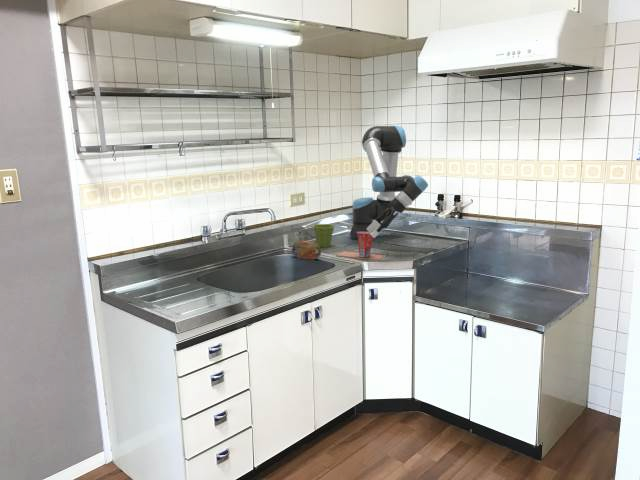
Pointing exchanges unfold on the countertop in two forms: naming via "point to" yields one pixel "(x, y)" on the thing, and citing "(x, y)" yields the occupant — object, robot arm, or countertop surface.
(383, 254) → the pink thin bar
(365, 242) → the cup
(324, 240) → the plant pot
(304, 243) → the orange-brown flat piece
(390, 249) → the countertop surface
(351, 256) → the mat
